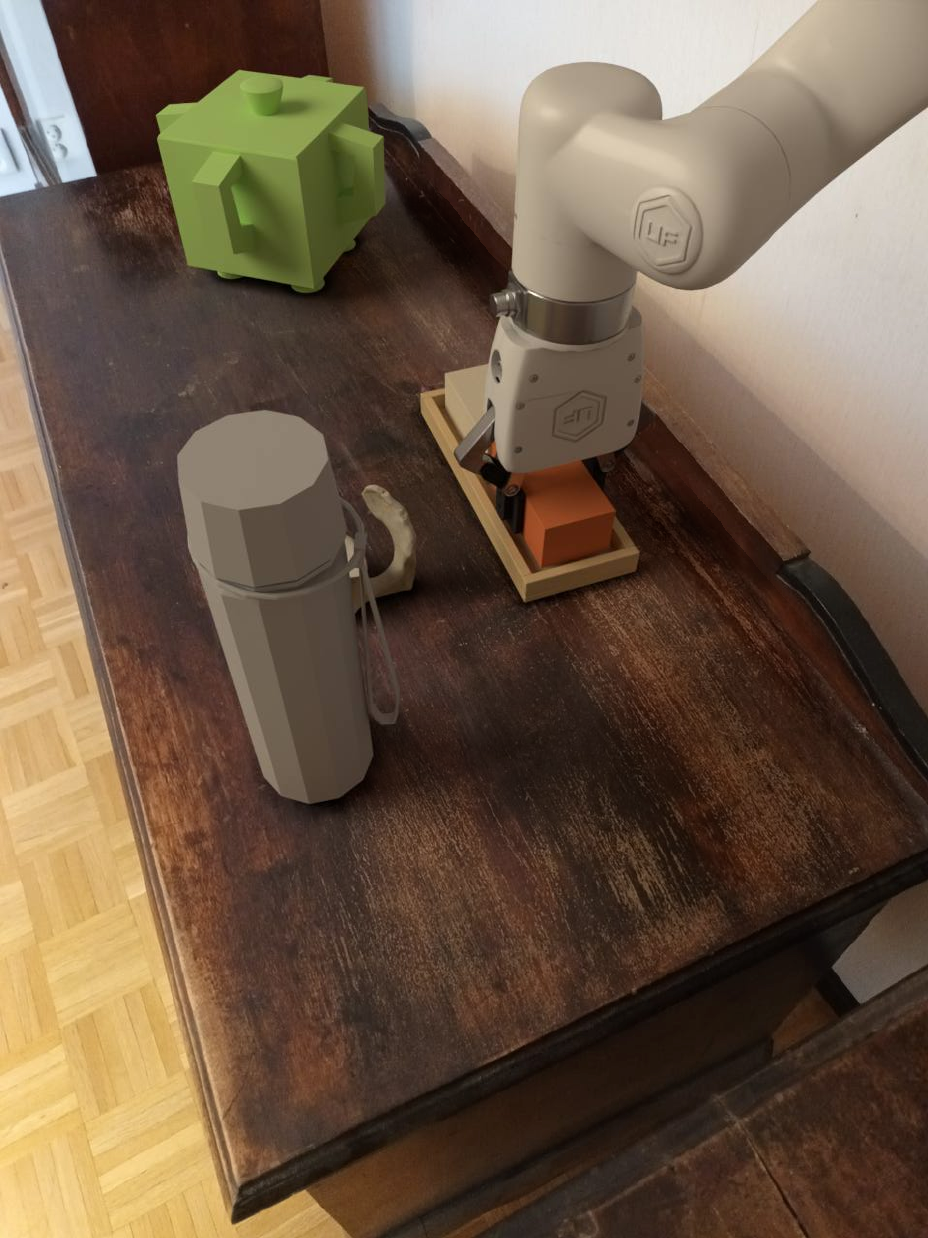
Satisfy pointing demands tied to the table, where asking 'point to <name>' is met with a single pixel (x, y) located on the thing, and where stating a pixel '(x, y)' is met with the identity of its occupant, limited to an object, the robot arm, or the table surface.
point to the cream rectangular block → (466, 399)
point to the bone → (404, 542)
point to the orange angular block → (565, 514)
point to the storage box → (272, 176)
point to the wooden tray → (513, 546)
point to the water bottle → (285, 597)
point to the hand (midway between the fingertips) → (548, 510)
